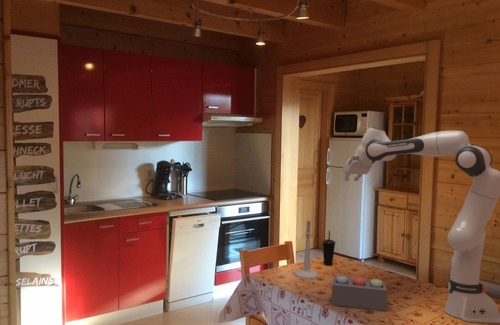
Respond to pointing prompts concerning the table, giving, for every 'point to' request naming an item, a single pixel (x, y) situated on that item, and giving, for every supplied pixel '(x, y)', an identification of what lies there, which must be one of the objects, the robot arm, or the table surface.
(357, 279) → the red button
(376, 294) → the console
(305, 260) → the candlestick
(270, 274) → the table surface
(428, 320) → the table surface
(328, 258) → the drinking cup
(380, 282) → the green button
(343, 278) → the blue button
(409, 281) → the table surface
